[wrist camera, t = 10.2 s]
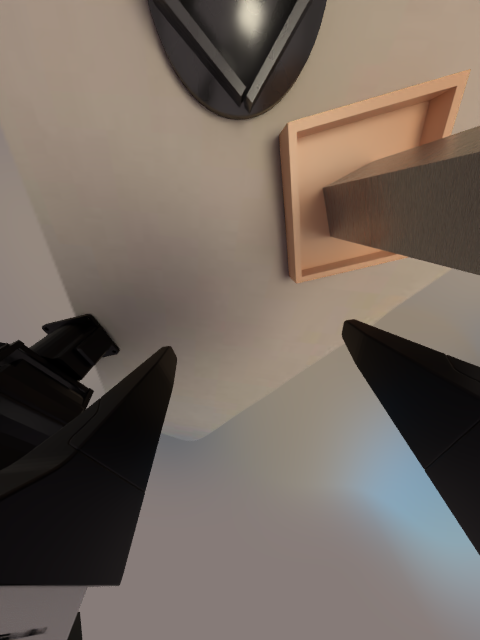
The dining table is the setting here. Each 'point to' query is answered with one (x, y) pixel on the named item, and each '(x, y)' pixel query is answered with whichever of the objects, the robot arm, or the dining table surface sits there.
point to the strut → (415, 203)
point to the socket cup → (238, 49)
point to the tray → (353, 165)
